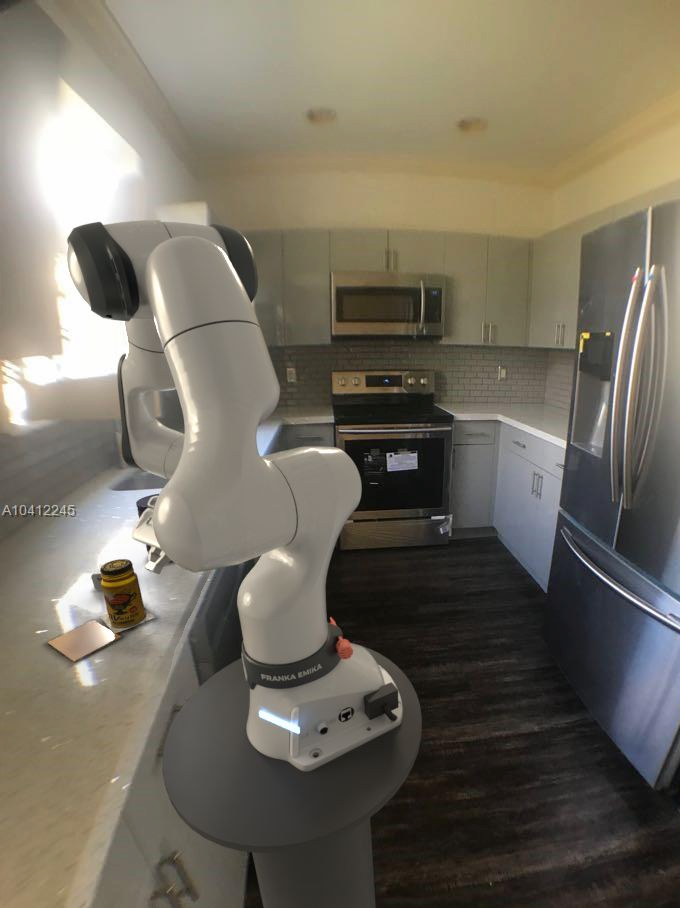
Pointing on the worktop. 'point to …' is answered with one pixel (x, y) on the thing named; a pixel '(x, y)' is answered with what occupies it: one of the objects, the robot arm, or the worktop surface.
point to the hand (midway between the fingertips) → (151, 571)
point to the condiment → (122, 596)
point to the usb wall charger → (97, 579)
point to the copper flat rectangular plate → (84, 640)
